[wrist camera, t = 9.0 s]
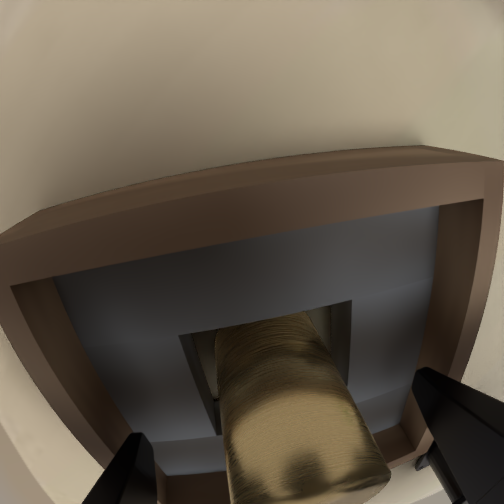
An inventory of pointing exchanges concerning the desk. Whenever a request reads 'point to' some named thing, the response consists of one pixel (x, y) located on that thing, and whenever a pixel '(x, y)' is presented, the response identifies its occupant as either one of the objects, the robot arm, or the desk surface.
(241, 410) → the peg
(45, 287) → the bore box
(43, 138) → the desk surface
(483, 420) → the robot arm
